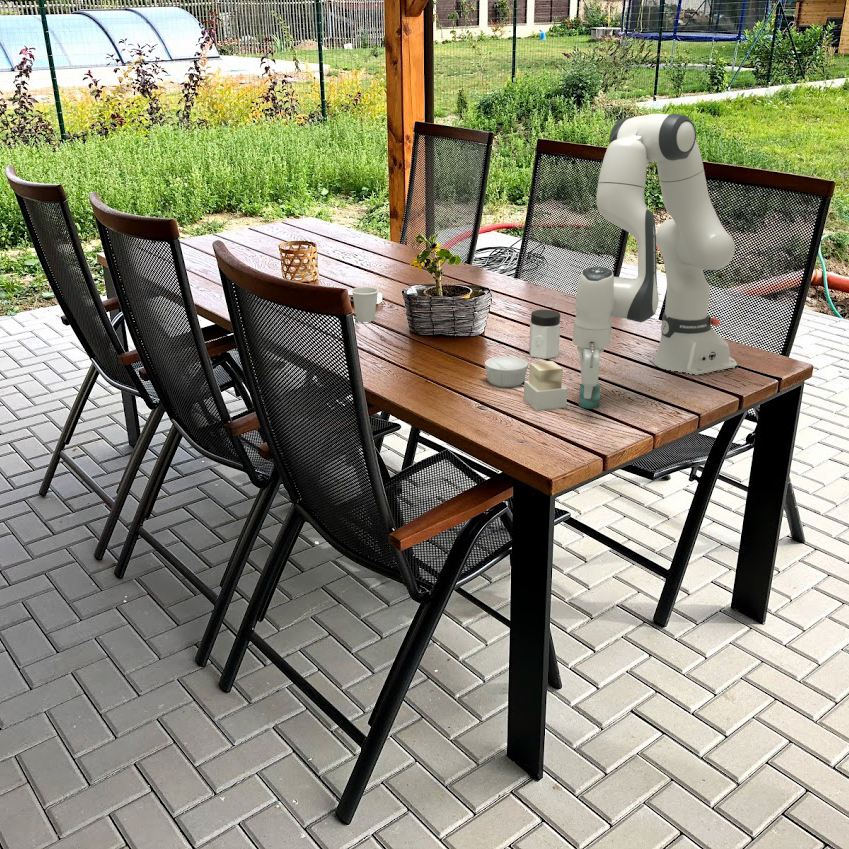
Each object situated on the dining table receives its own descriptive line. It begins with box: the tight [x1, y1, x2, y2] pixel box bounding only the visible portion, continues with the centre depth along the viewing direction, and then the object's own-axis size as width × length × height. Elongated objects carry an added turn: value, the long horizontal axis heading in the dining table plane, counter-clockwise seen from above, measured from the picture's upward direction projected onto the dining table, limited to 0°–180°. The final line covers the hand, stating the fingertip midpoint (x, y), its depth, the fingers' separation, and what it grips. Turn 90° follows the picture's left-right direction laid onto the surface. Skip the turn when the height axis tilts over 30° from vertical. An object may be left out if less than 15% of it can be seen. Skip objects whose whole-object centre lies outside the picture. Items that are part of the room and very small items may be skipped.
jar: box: [528, 309, 561, 360], centre depth 260 cm, size 9×8×12 cm
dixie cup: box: [351, 286, 379, 322], centre depth 290 cm, size 8×8×10 cm
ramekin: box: [484, 355, 529, 388], centre depth 241 cm, size 11×11×5 cm
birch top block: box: [528, 360, 564, 391], centre depth 225 cm, size 6×6×5 cm
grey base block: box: [523, 380, 568, 411], centre depth 227 cm, size 8×8×5 cm
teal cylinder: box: [578, 383, 601, 410], centre depth 226 cm, size 5×5×5 cm
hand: (586, 390), depth 226 cm, fingers open, 8 cm apart
